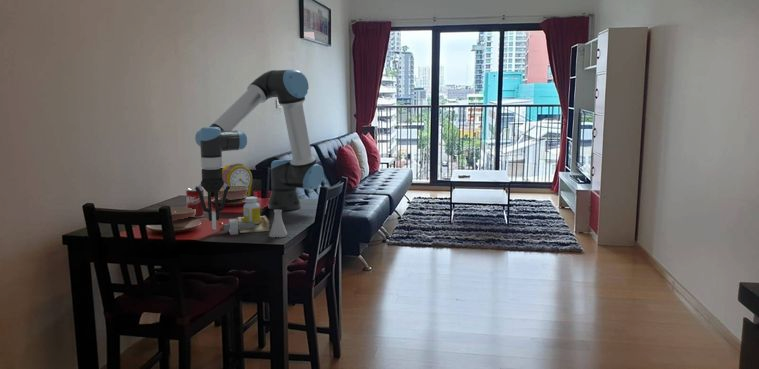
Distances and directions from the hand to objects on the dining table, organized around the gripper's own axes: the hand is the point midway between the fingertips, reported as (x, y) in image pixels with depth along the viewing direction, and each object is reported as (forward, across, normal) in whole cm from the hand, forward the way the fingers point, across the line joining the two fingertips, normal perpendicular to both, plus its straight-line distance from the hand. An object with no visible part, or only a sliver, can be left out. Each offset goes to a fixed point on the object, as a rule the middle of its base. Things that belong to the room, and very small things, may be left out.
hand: (214, 228), depth 215 cm
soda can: (+2, +6, -35) cm, 35 cm away
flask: (+2, -23, +10) cm, 25 cm away
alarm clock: (+2, -14, -72) cm, 74 cm away
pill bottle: (+1, -15, -6) cm, 16 cm away
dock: (+2, -15, -5) cm, 16 cm away
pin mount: (+2, -7, 0) cm, 8 cm away
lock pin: (+1, -9, 0) cm, 9 cm away
